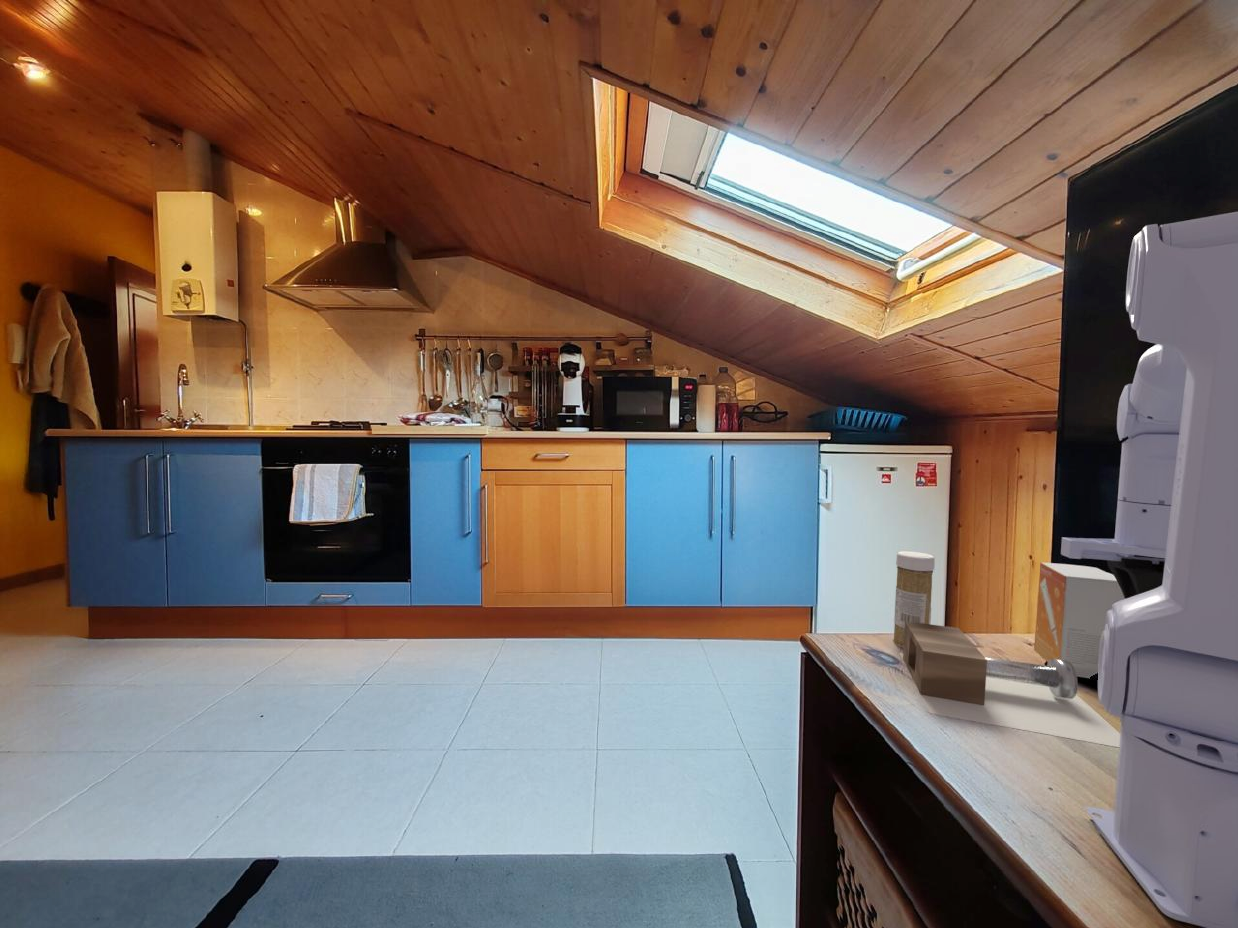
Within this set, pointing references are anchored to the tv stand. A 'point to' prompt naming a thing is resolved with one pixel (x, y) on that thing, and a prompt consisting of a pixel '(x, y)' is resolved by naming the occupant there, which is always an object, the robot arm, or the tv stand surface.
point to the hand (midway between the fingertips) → (1145, 632)
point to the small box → (1073, 614)
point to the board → (1030, 712)
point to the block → (944, 663)
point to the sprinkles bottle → (912, 591)
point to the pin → (1037, 674)
